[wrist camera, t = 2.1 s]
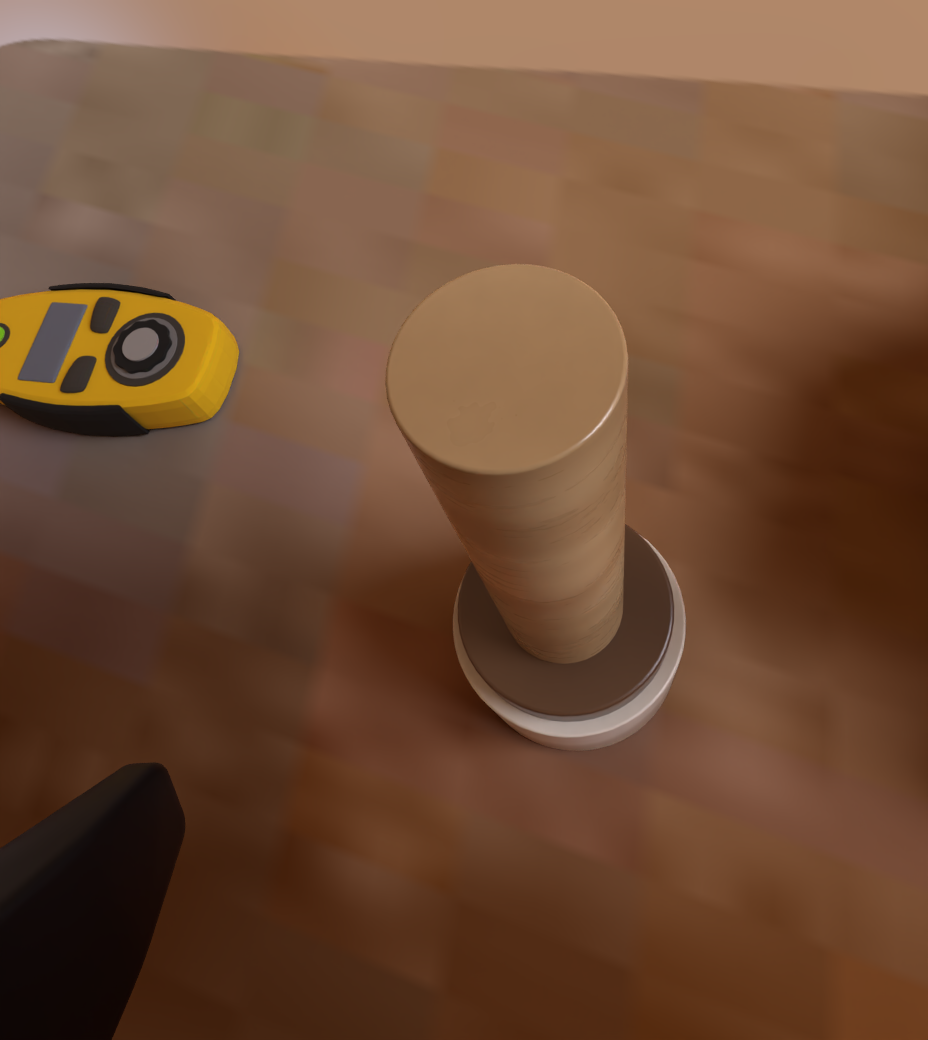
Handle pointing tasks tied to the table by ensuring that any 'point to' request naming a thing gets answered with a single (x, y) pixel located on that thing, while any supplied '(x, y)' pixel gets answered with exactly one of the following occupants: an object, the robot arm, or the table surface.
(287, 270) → the table surface
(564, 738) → the brush
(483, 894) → the table surface
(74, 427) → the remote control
